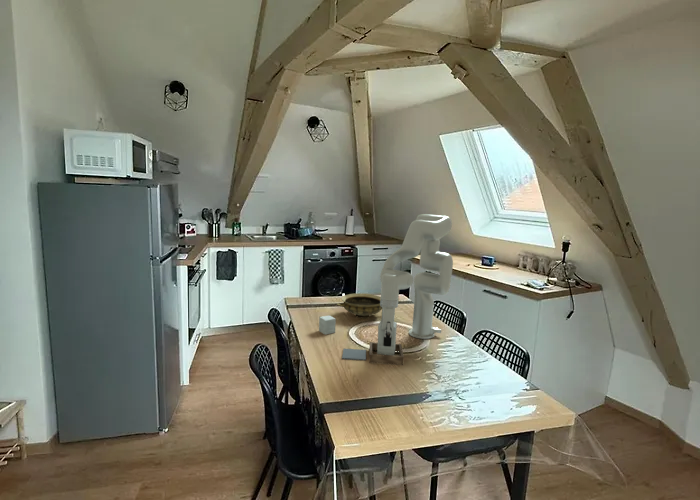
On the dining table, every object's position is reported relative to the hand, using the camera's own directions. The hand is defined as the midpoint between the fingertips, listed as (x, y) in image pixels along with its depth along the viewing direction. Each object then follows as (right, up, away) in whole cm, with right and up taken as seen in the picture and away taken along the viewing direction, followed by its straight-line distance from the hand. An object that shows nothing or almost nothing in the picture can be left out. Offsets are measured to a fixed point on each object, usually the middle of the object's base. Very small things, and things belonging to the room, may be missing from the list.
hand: (386, 341), depth 179 cm
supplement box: (0, -5, +1) cm, 5 cm away
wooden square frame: (0, -7, +1) cm, 7 cm away
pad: (-14, -6, +1) cm, 15 cm away
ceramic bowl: (-9, +2, +55) cm, 55 cm away
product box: (-27, -1, +28) cm, 39 cm away
